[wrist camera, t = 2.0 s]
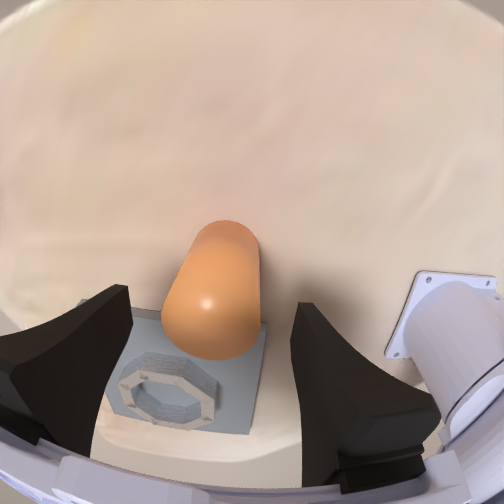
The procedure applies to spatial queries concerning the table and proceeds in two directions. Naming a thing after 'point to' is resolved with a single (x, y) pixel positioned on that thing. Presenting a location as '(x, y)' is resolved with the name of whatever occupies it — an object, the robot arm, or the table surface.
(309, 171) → the table surface
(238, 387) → the base plate
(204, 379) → the ring socket
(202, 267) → the plug
